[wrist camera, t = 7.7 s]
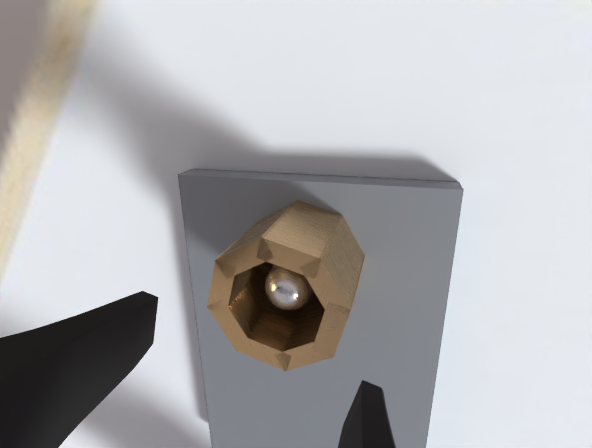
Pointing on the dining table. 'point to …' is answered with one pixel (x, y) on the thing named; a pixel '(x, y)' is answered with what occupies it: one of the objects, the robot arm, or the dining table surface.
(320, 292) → the bronze ring
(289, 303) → the steel pin
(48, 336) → the robot arm
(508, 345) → the dining table surface
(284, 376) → the slate block
